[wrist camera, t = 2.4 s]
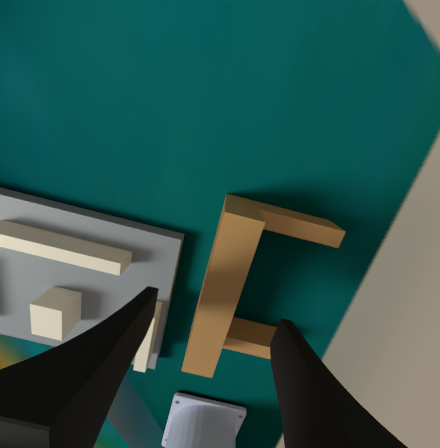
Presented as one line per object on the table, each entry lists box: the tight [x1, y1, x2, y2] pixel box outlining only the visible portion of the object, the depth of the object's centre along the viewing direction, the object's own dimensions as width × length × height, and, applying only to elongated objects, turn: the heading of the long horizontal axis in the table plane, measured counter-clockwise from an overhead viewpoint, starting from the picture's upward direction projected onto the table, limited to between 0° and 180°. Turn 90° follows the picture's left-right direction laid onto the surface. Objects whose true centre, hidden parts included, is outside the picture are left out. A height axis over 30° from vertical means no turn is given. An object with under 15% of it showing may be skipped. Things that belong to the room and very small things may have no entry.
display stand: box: [0, 188, 185, 372], centre depth 17 cm, size 14×17×3 cm
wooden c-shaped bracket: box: [182, 194, 346, 378], centre depth 15 cm, size 8×12×5 cm, turn 166°
